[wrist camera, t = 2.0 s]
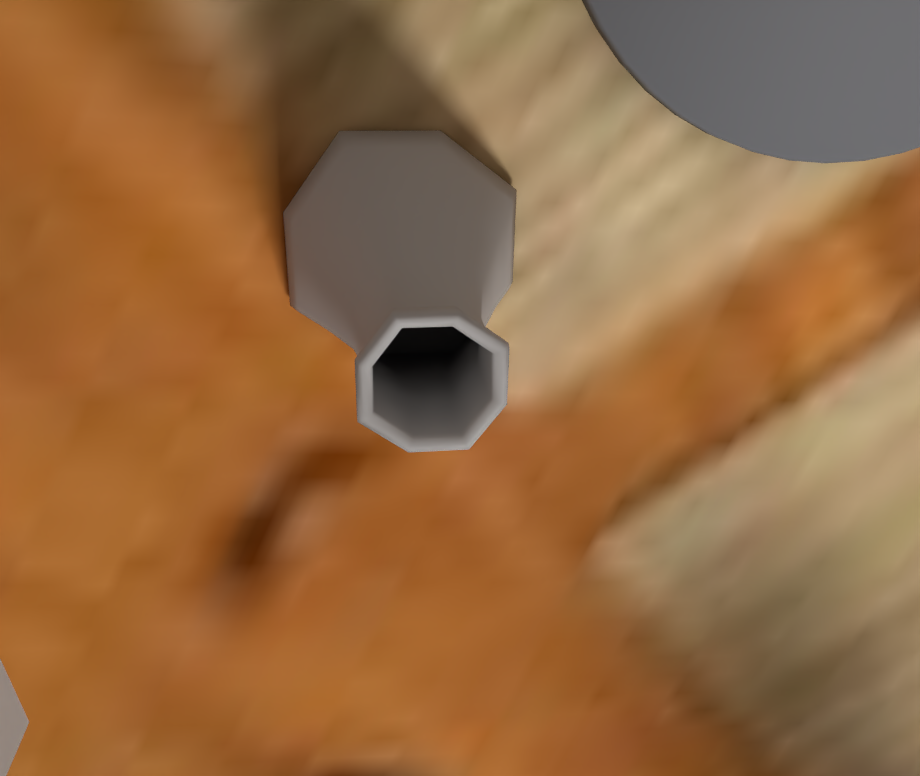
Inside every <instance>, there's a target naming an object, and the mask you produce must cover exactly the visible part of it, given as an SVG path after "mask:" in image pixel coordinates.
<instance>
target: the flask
mask: <svg viewBox="0 0 920 776" xmlns="http://www.w3.org/2000/svg"><path fill="white" fill-rule="evenodd" d="M515 213H516V189H515V188H513V187H512V186H511V185H510V184H508V183H507V182H506V181H504V180H503V179H502V178H501V177H499V176H498V175H497V174H495V173H494V172H493V171H492V170H490V169H489V168H488V167H486V166H485V165H484V164H483V163H481V162H480V161H479V160H478V159H476V158H475V157H474V156H472V155H471V154H470V153H469V152H467V151H466V150H465V149H463V148H462V147H461V146H460V145H458V144H457V143H456V142H454V141H453V140H452V139H451V138H449V137H448V136H447V135H445V134H444V133H443V132H442V131H339V132H338V133H337V135H336V136H335V138H334V139H333V141H332V142H331V144H330V145H329V147H328V148H327V149H326V151H325V152H324V154H323V155H322V157H321V158H320V160H319V161H318V163H317V164H316V165H315V167H314V168H313V170H312V171H311V173H310V174H309V176H308V177H307V179H306V180H305V181H304V183H303V184H302V186H301V187H300V189H299V190H298V192H297V193H296V195H295V196H294V197H293V199H292V200H291V202H290V203H289V205H288V206H287V208H286V209H285V211H284V212H283V216H284V229H285V243H286V256H287V270H288V283H289V296H290V306H292V307H293V308H294V309H296V310H297V311H299V312H300V313H302V314H303V315H305V316H306V317H308V318H310V319H311V320H313V321H314V322H316V323H317V324H319V325H321V326H322V327H324V328H325V329H327V330H328V331H330V332H331V333H333V334H334V335H336V336H337V337H338V338H340V339H341V340H342V341H344V342H345V343H346V344H348V345H349V346H350V347H352V348H353V349H354V351H355V352H356V354H357V357H356V359H355V378H356V402H357V420H358V422H359V423H360V424H362V425H364V426H365V427H367V428H369V429H370V430H372V431H374V432H375V433H377V434H379V435H380V436H382V437H384V438H385V439H387V440H389V441H390V442H392V443H394V444H395V445H397V446H399V447H400V448H402V449H404V450H405V451H407V452H425V451H445V450H466V449H470V448H471V446H472V445H473V444H474V443H475V442H476V441H477V439H478V438H479V437H480V436H481V435H482V433H483V432H484V431H485V430H486V429H487V427H488V426H489V425H490V424H491V423H492V421H493V420H494V419H495V418H496V417H497V416H498V414H499V413H500V412H501V411H502V410H503V408H504V407H505V406H506V405H507V390H508V367H509V344H508V342H506V341H505V340H503V339H502V338H501V337H499V336H498V335H496V334H495V333H493V332H492V331H490V330H489V329H488V328H486V327H485V326H486V324H487V323H488V321H489V319H490V317H491V315H492V313H493V311H494V309H495V308H496V306H497V305H498V303H499V302H500V300H501V299H502V298H503V296H504V295H505V293H506V292H507V291H508V289H509V287H510V285H511V284H512V281H513V258H514V236H515Z"/></svg>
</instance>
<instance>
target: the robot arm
mask: <svg viewBox="0 0 920 776" xmlns="http://www.w3.org/2000/svg"><path fill="white" fill-rule="evenodd" d="M28 723H29V721H28V718H27V716H26V714H25V712H24V710H23V708H22V705H21V703H20V701H19V699H18V697H17V695H16V692H15V690H14V688H13V686H12V684H11V681H10V679H9V677H8V675H7V673H6V671H5V668H4V666H3V664H2V662H1V660H0V776H6V775H7V773H8V770H9V768H10V766H11V763H12V761H13V758H14V756H15V754H16V751H17V749H18V747H19V744H20V742H21V740H22V737H23V735H24V733H25V730H26V728H27V726H28Z"/></svg>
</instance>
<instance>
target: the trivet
mask: <svg viewBox="0 0 920 776" xmlns="http://www.w3.org/2000/svg"><path fill="white" fill-rule="evenodd" d="M582 1H583V3H584V5H585V7H586V9H587V11H588V13H589V15H590V17H591V19H592V21H593V23H594V25H595V27H596V29H597V30H598V32H599V33H600V35H601V36H602V37H603V39H604V40H605V42H606V43H607V45H608V46H609V48H610V49H611V51H612V52H613V54H614V55H615V57H616V58H617V59H618V61H619V62H620V63H621V64H622V65H623V67H624V68H625V69H626V70H627V71H628V72H629V73H630V74H631V75H632V76H633V77H634V79H635V80H636V81H637V82H638V83H639V84H640V85H641V86H642V87H643V88H644V90H645V91H647V92H648V93H649V94H650V95H652V96H653V97H654V98H655V99H656V100H658V101H659V102H660V103H661V104H663V105H664V106H665V107H666V108H667V109H669V110H670V111H671V112H672V113H674V114H675V115H677V116H678V117H680V118H682V119H683V120H685V121H687V122H688V123H690V124H692V125H694V126H695V127H697V128H699V129H700V130H702V131H704V132H705V133H708V134H710V135H712V136H715V137H717V138H720V139H722V140H725V141H727V142H730V143H732V144H735V145H737V146H740V147H742V148H745V149H747V150H750V151H752V152H756V153H760V154H764V155H769V156H773V157H777V158H782V159H786V160H792V161H805V162H818V163H837V162H852V161H865V160H870V159H875V158H880V157H885V156H890V155H895V154H900V153H903V152H906V151H909V150H912V149H915V148H918V147H920V0H582Z"/></svg>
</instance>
